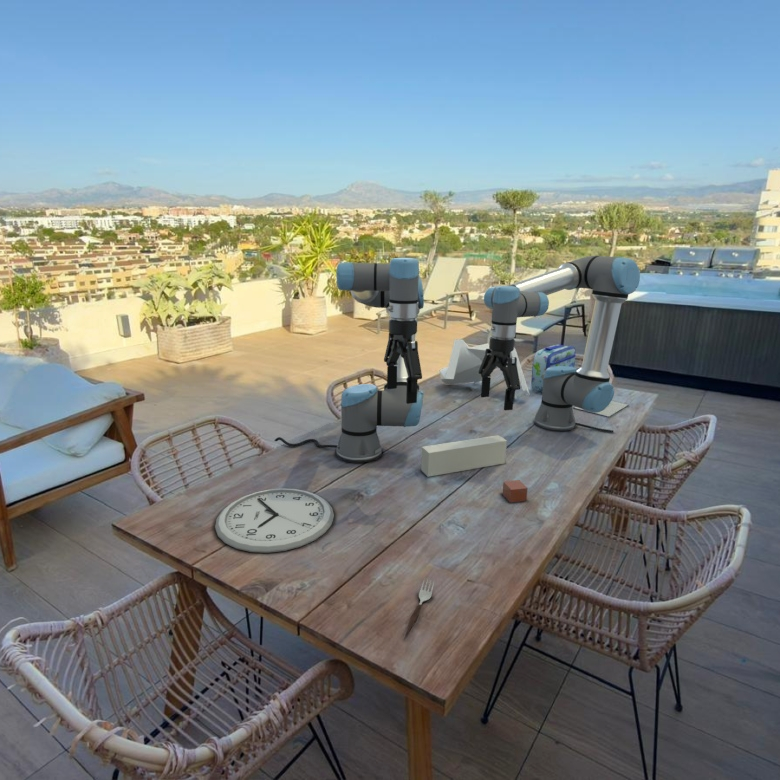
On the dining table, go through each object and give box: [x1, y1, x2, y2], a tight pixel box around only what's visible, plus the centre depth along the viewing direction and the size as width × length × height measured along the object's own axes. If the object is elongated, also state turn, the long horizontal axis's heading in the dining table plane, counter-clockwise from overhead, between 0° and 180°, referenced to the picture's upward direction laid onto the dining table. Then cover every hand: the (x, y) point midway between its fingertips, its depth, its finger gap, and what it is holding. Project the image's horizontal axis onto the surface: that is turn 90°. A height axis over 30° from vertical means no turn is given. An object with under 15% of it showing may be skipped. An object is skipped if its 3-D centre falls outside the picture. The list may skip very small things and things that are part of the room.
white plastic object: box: [438, 338, 531, 400], centre depth 245 cm, size 37×45×31 cm
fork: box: [405, 577, 435, 637], centre depth 104 cm, size 3×16×2 cm, turn 160°
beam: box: [420, 434, 508, 478], centre depth 166 cm, size 28×5×8 cm, turn 112°
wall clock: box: [214, 488, 335, 554], centre depth 135 cm, size 30×2×30 cm
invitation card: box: [573, 400, 629, 418], centre depth 226 cm, size 21×1×15 cm
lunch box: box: [530, 344, 577, 392], centre depth 247 cm, size 26×11×21 cm, turn 134°
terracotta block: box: [502, 479, 528, 503], centre depth 148 cm, size 5×5×4 cm
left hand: (401, 395), depth 144 cm, fingers open, 13 cm apart
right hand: (496, 403), depth 167 cm, fingers open, 13 cm apart
